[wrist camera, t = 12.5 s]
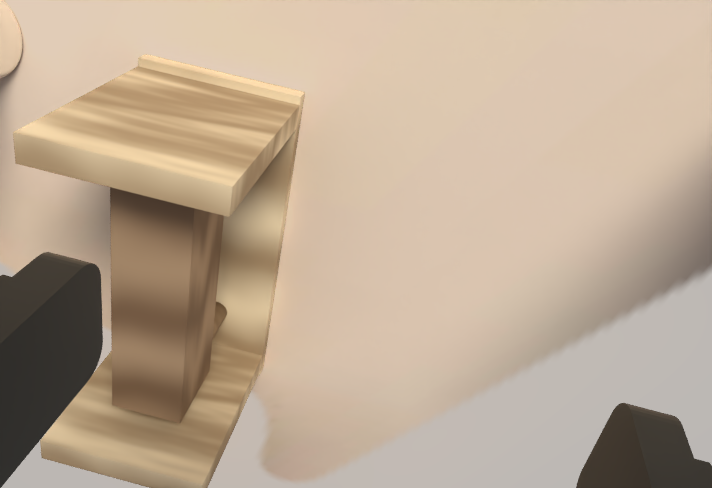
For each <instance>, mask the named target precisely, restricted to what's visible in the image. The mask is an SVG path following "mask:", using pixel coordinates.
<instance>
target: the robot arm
mask: <svg viewBox="0 0 712 488" xmlns="http://www.w3.org/2000/svg"><path fill="white" fill-rule="evenodd" d="M102 342H103V336H102V300H101V274H100V270H99V268H98V267H97V266H96V265H95V264H92V263H88V262H85V261H81V260H77V259H73V258H69V257H65V256H62V255H58V254H54V253H49V252H46V253H43V254H41V255H39V256H38V257H36V258H35V259H34V260H33V261H31V262H30V263H29V264H28V265H26V266H25V267H24V268H23V269H22V270H20V271H19V272H18V273H17V274H15V275H14V276H13V277H9V276H6V275H1V276H0V488H1V487H2V486H3V484H4V483H5V482H6V481H7V479H8V478H9V477H10V476H11V475H12V473H13V472H14V471H15V470H16V468H17V467H18V466H19V465H20V464H21V462H22V461H23V460H24V459H25V458H26V456H27V455H28V454H29V453H30V451H31V450H32V449H33V448H34V446H35V445H36V444H37V443H38V442H39V440H40V439H41V438H42V437H43V436H44V434H45V433H46V432H47V431H48V429H49V428H50V427H51V426H52V425H53V423H54V422H55V421H56V420H57V418H58V417H59V416H60V415H61V414H62V412H63V411H64V410H65V409H66V408H67V406H68V405H69V404H70V403H71V401H72V400H73V399H74V398H75V397H76V395H77V394H78V393H79V392H80V390H81V389H82V388H83V387H84V386H85V384H86V383H87V382H88V381H89V379H90V378H91V376H92V374H93V373H94V370H95V369H96V366H97V364H98V361H99V358H100V355H101V350H102ZM576 488H712V466H711V464H710V463H709V462H705V461H701V460H697V459H694V457H693V454H692V451H691V449H690V446H689V443H688V440H687V437H686V435H685V432H684V429H683V426H682V424H681V422H680V421H679V419H678V418H676V417H675V416H672V415H668V414H664V413H660V412H656V411H653V410H648V409H645V408H641V407H637V406H633V405H630V404H626V403H621V404H619V405H618V406H617V407H616V408H615V409H614V410H613V412H612V414H611V416H610V418H609V420H608V421H607V424H606V425H605V428H604V429H603V431H602V433H601V435H600V437H599V439H598V441H597V443H596V444H595V446H594V448H593V450H592V452H591V454H590V456H589V458H588V460H587V462H586V464H585V466H584V467H583V469H582V471H581V474H580V476H579V479H578V483H577V487H576Z"/></svg>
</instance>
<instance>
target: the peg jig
mask: <svg viewBox="0 0 712 488" xmlns="http://www.w3.org/2000/svg"><path fill="white" fill-rule="evenodd" d="M304 94H305V92H301V91H297V90H293V89H289V88H284V87H280V86H276V85H272V84H268V83H264V82H259V81H255V80H251V79H247V78H243V77H238V76H234V75H230V74H226V73H222V72H218V71H213V70H209V69H205V68H201V67H197V66H192V65H188V64H184V63H180V62H176V61H172V60H167V59H163V58H159V57H155V56H151V55H144V56H142V57H140V58H138V67H136V68H134V69H132V70H130V71H129V72H127V73H125V74H123V75H121V76H119V77H117V78H115V79H113V80H111V81H110V82H108V83H106V84H104V85H102V86H100V87H98V88H96V89H94V90H92V91H91V92H89V93H87V94H85V95H83V96H81V97H79V98H77V99H75V100H73V101H72V102H70V103H68V104H66V105H64V106H62V107H60V108H58V109H56V110H54V111H53V112H51V113H49V114H47V115H45V116H43V117H41V118H39V119H37V120H35V121H34V122H32V123H30V124H28V125H26V126H24V127H22V128H20V129H18V130H16V131H15V132H13V138H14V149H15V161H16V164H20V165H24V166H28V167H32V168H36V169H40V170H44V171H48V172H52V173H56V174H60V175H64V176H68V177H72V178H76V179H80V180H84V181H88V182H92V183H96V184H100V185H104V186H108V187H112V188H116V189H120V190H124V191H128V192H132V193H136V194H140V195H143V196H147V197H151V198H155V199H159V200H163V201H167V202H171V203H175V204H179V205H183V206H187V207H191V208H195V209H199V210H203V211H207V212H211V213H215V214H219V215H223V216H224V220H223V231H222V242H221V253H220V263H219V274H218V285H217V295H216V306H215V317H214V327H213V338H212V349H211V360H210V370H209V373H208V374H207V376H206V378H205V380H204V381H203V383H202V385H201V387H200V389H199V390H198V392H197V394H196V396H195V398H194V399H193V401H192V403H191V405H190V407H189V408H188V410H187V412H186V414H185V416H184V417H183V419H182V421H181V423H177V422H173V421H169V420H165V419H162V418H158V417H154V416H151V415H147V414H143V413H139V412H136V411H132V410H128V409H124V408H121V407H117V406H113V405H112V351H111V352H110V353H109V355H108V356H107V357H106V358H105V360H104V361H103V362H102V363H101V365H100V366H99V367H98V368H97V370H96V371H95V372H94V373H93V375H92V376H91V378H90V379H89V381H88V382H87V383H86V384H85V386H84V387H83V388H82V389H81V390H80V392H79V393H78V394H77V395H76V397H75V398H74V399H73V400H72V401H71V403H70V404H69V405H68V406H67V408H66V409H65V410H64V411H63V413H62V414H61V415H60V416H59V418H58V419H57V420H56V421H55V423H54V424H53V425H52V426H51V428H50V429H49V430H48V431H47V433H46V434H45V435H44V437H43V438H42V439H41V440H40V443H41V455H42V458H44V459H47V460H51V461H55V462H58V463H62V464H66V465H69V466H73V467H77V468H80V469H84V470H88V471H91V472H95V473H98V474H102V475H106V476H109V477H113V478H117V479H120V480H124V481H128V482H131V483H135V484H139V485H142V486H146V487H149V488H207V487H208V485H209V483H210V481H211V478H212V476H213V474H214V472H215V469H216V467H217V465H218V463H219V461H220V458H221V456H222V454H223V452H224V450H225V447H226V445H227V443H228V441H229V439H230V436H231V434H232V432H233V430H234V428H235V425H236V423H237V421H238V419H239V417H240V414H241V412H242V410H243V408H244V405H245V403H246V401H247V399H248V397H249V394H250V392H251V390H252V388H253V386H254V383H255V381H256V379H257V377H258V375H259V376H260V373H261V371H262V369H263V366H264V359H265V353H266V346H267V339H268V333H269V326H270V320H271V313H272V306H273V300H274V293H275V286H276V280H277V273H278V267H279V260H280V253H281V247H282V240H283V233H284V227H285V220H286V214H287V207H288V200H289V194H290V187H291V180H292V174H293V167H294V161H295V154H296V147H297V141H298V134H299V127H300V121H301V114H302V108H303V101H304Z"/></svg>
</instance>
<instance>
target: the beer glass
mask: <svg viewBox="0 0 712 488" xmlns="http://www.w3.org/2000/svg"><path fill="white" fill-rule="evenodd" d="M22 45H23V44H22V35H21V31H20V27H19V24H18V22H17V20H16V17H15V15H14V14H13V12H12V10H11V9H10V7H9V6H8V5H7V3H6V2H5V1H4V0H0V78H3V77H5V76H7V75H8V74H10V73H11V72H12V71H13V70H14V69H15V68H16V66H17V65H18V63H19V61H20V58H21V55H22Z"/></svg>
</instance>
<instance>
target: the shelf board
mask: <svg viewBox="0 0 712 488" xmlns="http://www.w3.org/2000/svg"><path fill="white" fill-rule="evenodd" d="M110 203H111V321H112V405H113V406H117V407H121V408H124V409H128V410H132V411H136V412H139V413H143V414H147V415H151V416H154V417H158V418H162V419H165V420H169V421H173V422H177V423H181V421H182V419H183V417H184V416H185V414H186V412H187V410H188V408H189V407H190V405H191V403H192V401H193V399H194V398H195V396H196V394H197V392H198V390H199V389H200V387H201V385H202V383H203V381H204V380H205V378H206V376H207V374H208V373H209V370H210V360H211V349H212V338H213V327H214V317H215V306H216V295H217V285H218V274H219V263H220V253H221V242H222V231H223V220H224V216H223V215H219V214H215V213H211V212H207V211H203V210H199V209H195V208H191V207H187V206H183V205H179V204H175V203H171V202H167V201H163V200H159V199H155V198H151V197H147V196H143V195H140V194H136V193H132V192H128V191H124V190H120V189H116V188H112V187H110Z"/></svg>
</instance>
